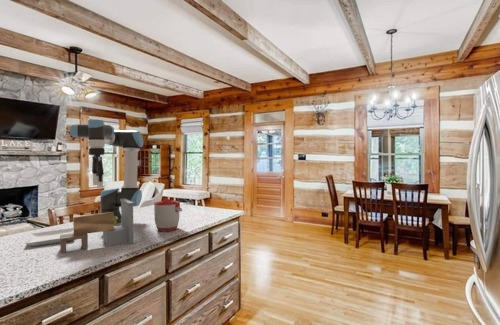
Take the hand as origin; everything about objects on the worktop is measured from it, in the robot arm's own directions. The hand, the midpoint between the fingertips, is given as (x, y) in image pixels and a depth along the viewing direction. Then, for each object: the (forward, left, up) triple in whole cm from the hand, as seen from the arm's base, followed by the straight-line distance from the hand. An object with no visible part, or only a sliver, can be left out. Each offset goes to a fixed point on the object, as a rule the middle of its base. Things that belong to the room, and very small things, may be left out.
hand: (98, 186), depth 153 cm
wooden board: (+9, -3, -28) cm, 29 cm away
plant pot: (-13, +8, -30) cm, 33 cm away
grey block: (+9, +8, -29) cm, 32 cm away
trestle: (+9, -12, -30) cm, 33 cm away
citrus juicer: (+2, +39, -30) cm, 49 cm away
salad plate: (-16, -20, -30) cm, 40 cm away
